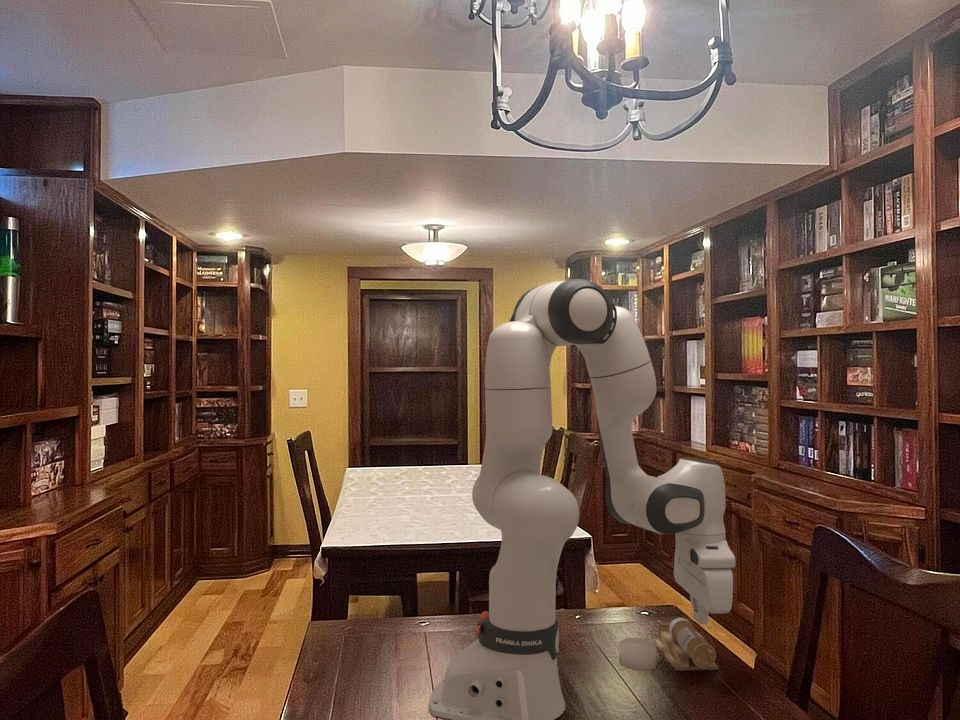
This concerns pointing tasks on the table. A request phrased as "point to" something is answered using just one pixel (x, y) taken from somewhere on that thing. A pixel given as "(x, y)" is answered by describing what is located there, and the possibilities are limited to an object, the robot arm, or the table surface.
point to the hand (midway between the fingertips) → (700, 621)
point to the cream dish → (638, 654)
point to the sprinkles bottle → (692, 642)
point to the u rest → (676, 651)
